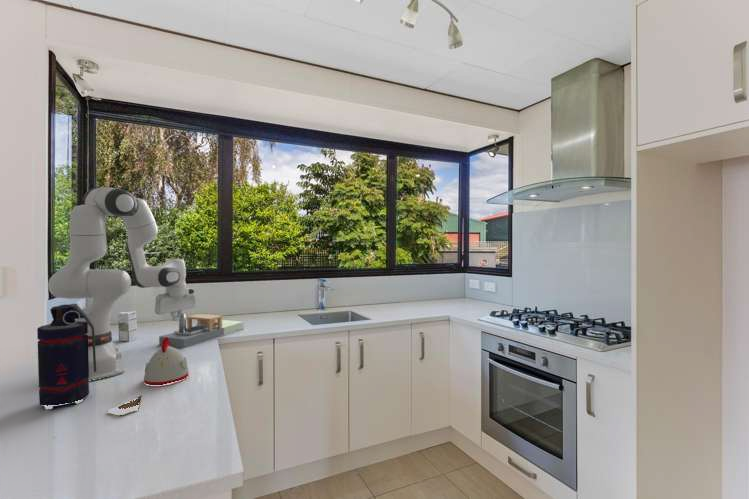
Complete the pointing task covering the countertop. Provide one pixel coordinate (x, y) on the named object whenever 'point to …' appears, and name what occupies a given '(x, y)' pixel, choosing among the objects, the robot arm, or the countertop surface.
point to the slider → (183, 329)
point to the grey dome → (166, 366)
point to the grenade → (64, 356)
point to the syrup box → (127, 325)
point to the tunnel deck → (196, 338)
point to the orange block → (207, 322)
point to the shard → (131, 403)
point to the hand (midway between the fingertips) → (176, 320)
